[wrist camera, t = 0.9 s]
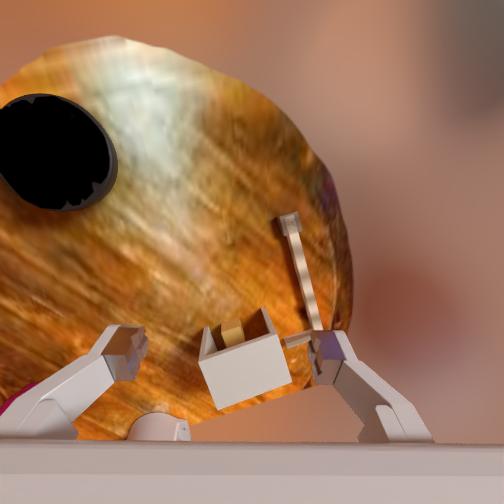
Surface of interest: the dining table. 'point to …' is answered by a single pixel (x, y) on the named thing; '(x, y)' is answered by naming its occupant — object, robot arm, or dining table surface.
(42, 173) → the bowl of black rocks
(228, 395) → the cubby
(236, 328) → the ochre cube
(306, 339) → the pale grey hook
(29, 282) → the dining table surface
